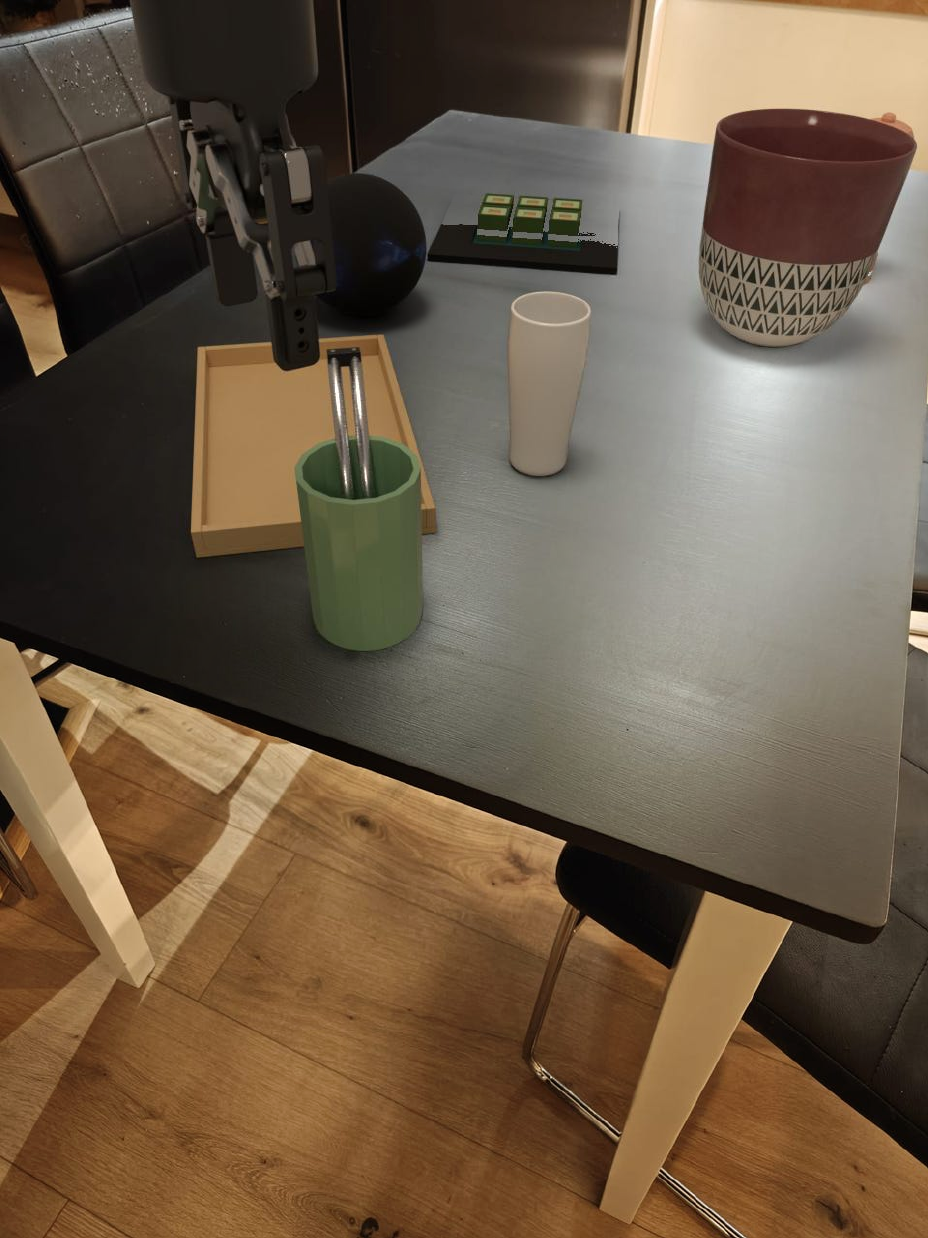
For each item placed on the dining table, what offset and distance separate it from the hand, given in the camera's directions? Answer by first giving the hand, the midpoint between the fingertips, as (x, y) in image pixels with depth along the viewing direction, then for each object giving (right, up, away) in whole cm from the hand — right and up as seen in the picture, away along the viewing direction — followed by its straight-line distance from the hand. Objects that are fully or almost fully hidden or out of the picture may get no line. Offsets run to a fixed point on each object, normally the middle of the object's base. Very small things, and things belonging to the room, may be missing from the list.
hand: (266, 331), depth 48 cm
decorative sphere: (-2, +22, +61) cm, 64 cm away
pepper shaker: (+60, +30, +72) cm, 98 cm away
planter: (+45, +18, +58) cm, 75 cm away
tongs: (+3, -7, +15) cm, 17 cm away
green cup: (+3, -15, +21) cm, 26 cm away
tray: (-5, +2, +38) cm, 39 cm away
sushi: (+20, +39, +80) cm, 92 cm away
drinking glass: (+17, -1, +37) cm, 40 cm away
